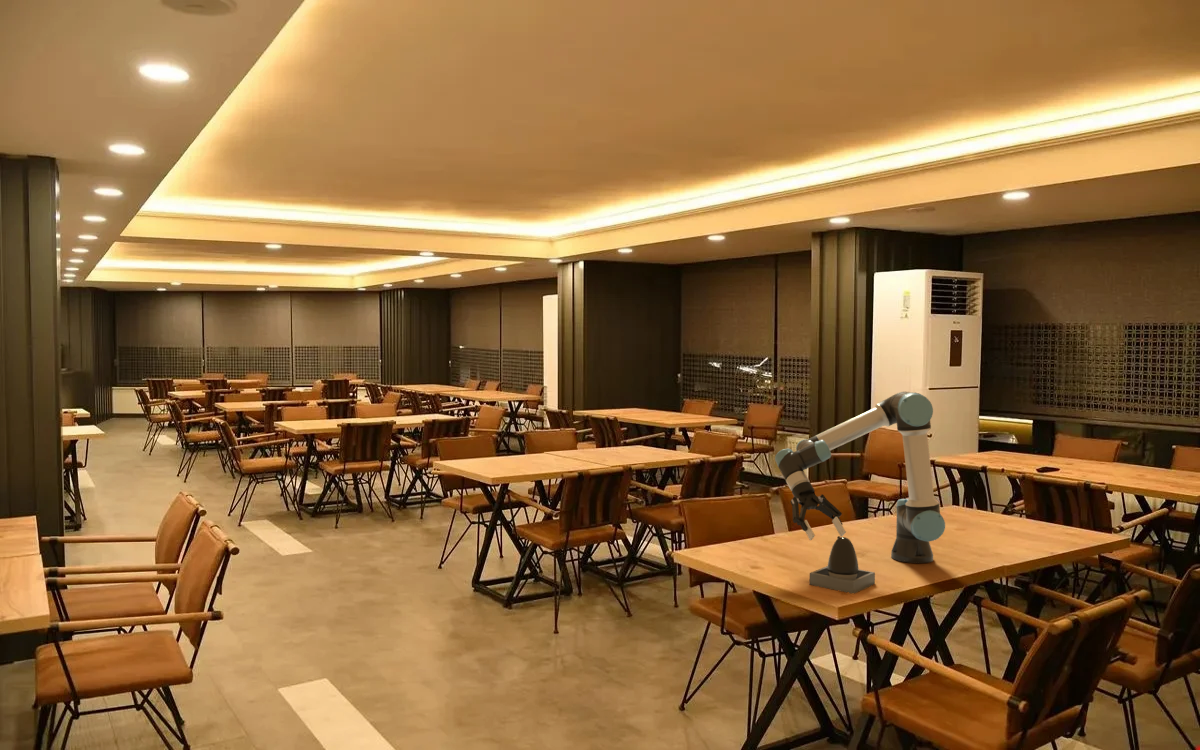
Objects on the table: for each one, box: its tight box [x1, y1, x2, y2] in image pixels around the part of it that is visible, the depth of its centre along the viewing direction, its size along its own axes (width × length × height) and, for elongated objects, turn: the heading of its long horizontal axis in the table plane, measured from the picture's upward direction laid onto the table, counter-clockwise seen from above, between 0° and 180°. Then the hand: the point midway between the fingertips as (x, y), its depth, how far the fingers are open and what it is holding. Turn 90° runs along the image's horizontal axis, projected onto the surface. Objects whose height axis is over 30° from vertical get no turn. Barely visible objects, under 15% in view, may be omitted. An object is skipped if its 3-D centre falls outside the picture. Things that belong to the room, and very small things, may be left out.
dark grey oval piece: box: [827, 535, 860, 580], centre depth 290 cm, size 10×10×15 cm
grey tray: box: [808, 565, 876, 594], centre depth 290 cm, size 16×16×4 cm
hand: (828, 536), depth 296 cm, fingers open, 13 cm apart
